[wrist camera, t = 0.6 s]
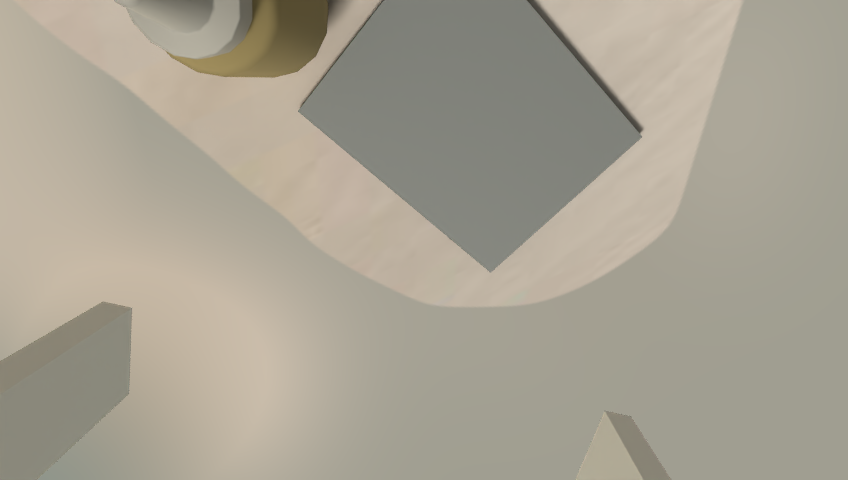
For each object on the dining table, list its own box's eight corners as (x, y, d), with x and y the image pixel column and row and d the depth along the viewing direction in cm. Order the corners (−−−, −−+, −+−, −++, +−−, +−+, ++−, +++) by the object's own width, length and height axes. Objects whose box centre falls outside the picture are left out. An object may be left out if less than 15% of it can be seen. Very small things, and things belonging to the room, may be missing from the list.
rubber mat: (451, -86, 28) (452, -88, 27) (638, 135, 34) (642, 136, 34) (299, 109, 33) (297, 111, 32) (489, 269, 39) (490, 272, 39)
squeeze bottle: (228, -84, 27) (-30, -247, 11) (351, -30, 29) (281, -106, 13) (209, 47, 31) (-14, 67, 14) (320, 89, 32) (233, 150, 16)
